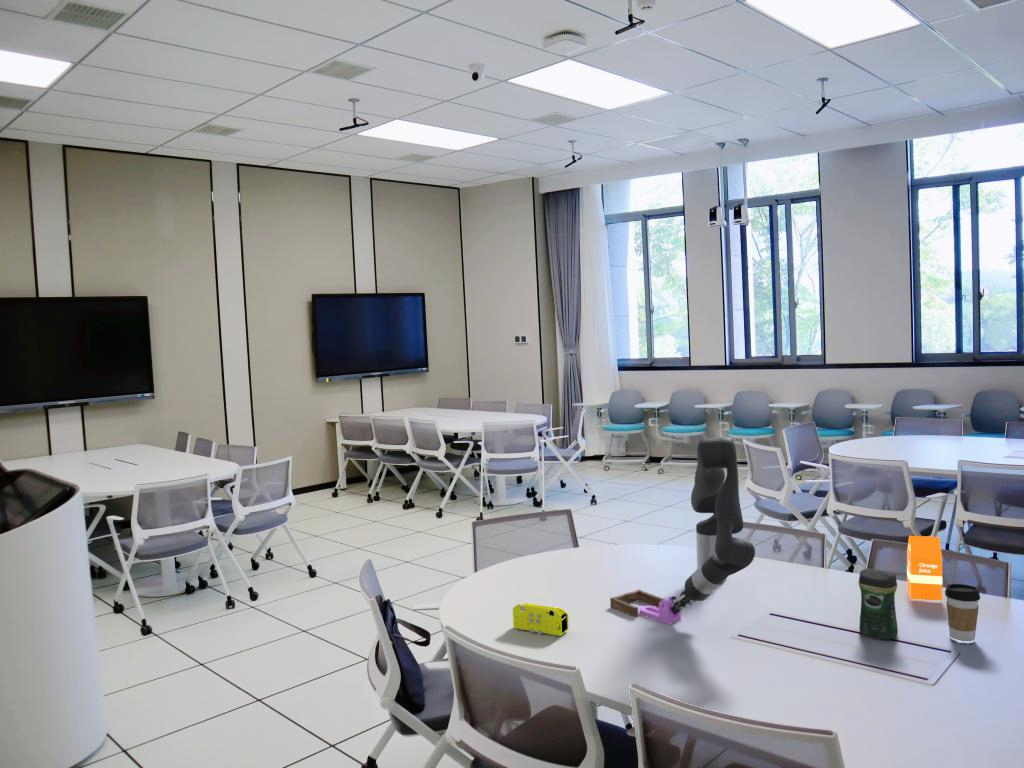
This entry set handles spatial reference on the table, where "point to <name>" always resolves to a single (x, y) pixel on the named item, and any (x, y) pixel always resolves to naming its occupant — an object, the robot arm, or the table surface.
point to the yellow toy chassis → (540, 619)
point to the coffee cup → (962, 610)
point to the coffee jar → (878, 604)
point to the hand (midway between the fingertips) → (674, 611)
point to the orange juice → (924, 568)
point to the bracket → (661, 611)
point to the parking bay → (623, 601)
